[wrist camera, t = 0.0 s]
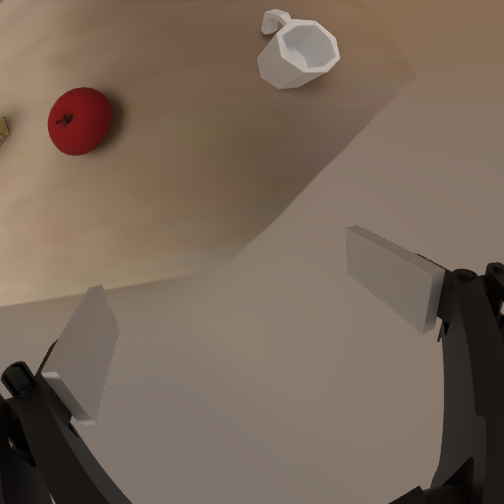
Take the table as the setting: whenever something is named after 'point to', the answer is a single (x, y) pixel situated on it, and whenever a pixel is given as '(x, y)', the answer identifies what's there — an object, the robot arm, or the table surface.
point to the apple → (79, 121)
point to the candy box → (3, 129)
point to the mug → (295, 51)
